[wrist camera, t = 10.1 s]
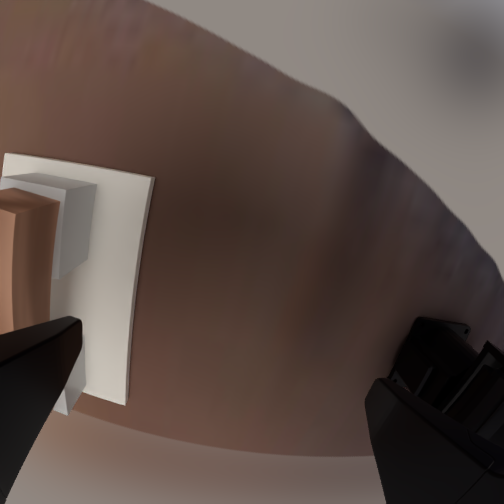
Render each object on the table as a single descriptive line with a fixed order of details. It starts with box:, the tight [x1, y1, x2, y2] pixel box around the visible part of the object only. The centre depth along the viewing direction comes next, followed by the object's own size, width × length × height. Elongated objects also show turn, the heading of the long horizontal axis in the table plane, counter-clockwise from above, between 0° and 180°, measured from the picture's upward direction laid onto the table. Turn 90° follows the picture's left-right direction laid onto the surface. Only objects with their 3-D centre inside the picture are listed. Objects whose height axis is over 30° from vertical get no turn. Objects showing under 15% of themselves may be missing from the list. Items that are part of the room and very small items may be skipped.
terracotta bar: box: [0, 188, 60, 415], centre depth 14 cm, size 4×15×4 cm, turn 163°
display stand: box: [0, 153, 155, 415], centre depth 18 cm, size 12×18×5 cm, turn 166°
